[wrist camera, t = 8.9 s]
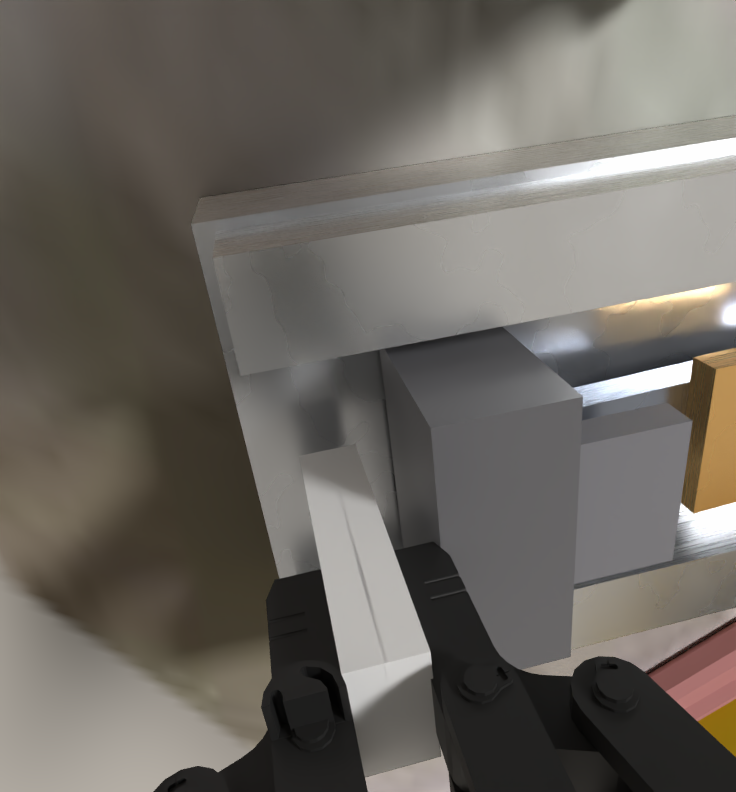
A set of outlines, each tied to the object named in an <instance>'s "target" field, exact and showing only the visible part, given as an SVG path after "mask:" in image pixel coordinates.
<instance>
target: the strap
mask: <svg viewBox="0 0 736 792" xmlns="http://www.w3.org/2000/svg"><path fill="white" fill-rule="evenodd" d="M574 389H575V390H576V391H577V392H578V393H579V394H581V395H582V396H583V409H582V420H587V419H591V418H596V417H601V416H606V415H610V414H615V413H620V412H624V411H629V410H634V409H639V408H643V407H648V406H653V405H658V404H662V403H668V404H670V405H671V406H672V407H674V408H675V409H677V410H678V411H680V412H681V413H682V414H684V415H685V416H687V417H688V418H689V419H691V420H692V421H693V422H692V429H691V436H690V443H689V450H688V456H687V463H686V470H685V477H684V484H683V491H682V498H681V503H682V504H683V505H684V506H685V507H686V508H687V509H689V510H690V511H691V512H692V513H693V514H694V513H698V512H701V511H705V510H709V509H712V508H716V507H720V506H723V505H727V504H731V503H735V502H736V348H731V349H727V350H723V351H718V352H714V353H709V354H705V355H701V356H696V357H693V361H688V362H684V363H680V364H675V365H671V366H667V367H662V368H658V369H653V370H649V371H645V372H640V373H636V374H632V375H627V376H623V377H618V378H614V379H610V380H605V381H601V382H597V383H592V384H588V385H583V386H579V387H575V388H574Z"/></svg>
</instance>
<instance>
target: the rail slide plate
mask: <svg viewBox="0 0 736 792" xmlns="http://www.w3.org/2000/svg"><path fill="white" fill-rule="evenodd" d="M191 227H192V231H193V235H194V239H195V243H196V247H197V251H198V255H199V259H200V263H201V267H202V271H203V275H204V279H205V283H206V287H207V291H208V295H209V299H210V303H211V307H212V311H213V315H214V319H215V323H216V327H217V331H218V335H219V339H220V343H221V347H222V351H223V355H224V359H225V363H226V367H227V371H228V375H229V379H230V383H231V387H232V391H233V395H234V399H235V403H236V407H237V411H238V415H239V419H240V423H241V427H242V431H243V435H244V439H245V443H246V447H247V451H248V455H249V459H250V463H251V467H252V471H253V475H254V479H255V483H256V487H257V491H258V495H259V499H260V503H261V507H262V511H263V515H264V519H265V523H266V527H267V531H268V535H269V539H270V543H271V547H272V551H273V555H274V559H275V563H276V567H277V571H278V575H279V579H280V578H285V577H289V576H293V575H297V574H302V573H306V572H310V571H315V570H319V569H321V567H320V561H319V556H318V551H317V546H316V541H315V536H314V530H313V525H312V520H311V515H310V510H309V505H308V499H307V494H306V489H305V484H304V479H303V474H302V468H301V463H300V458H299V456H301V455H306V454H311V453H315V452H320V451H325V450H330V449H335V448H340V447H344V446H349V445H354V444H355V445H356V448H357V450H358V453H359V456H360V459H361V461H362V464H363V467H364V470H365V472H366V475H367V478H368V481H369V483H370V486H371V489H372V492H373V494H374V497H375V500H376V503H377V506H378V508H379V511H380V514H381V517H382V519H383V522H384V525H385V528H386V530H387V533H388V536H389V539H390V541H391V544H392V547H393V550H398V549H403V540H402V532H401V524H400V515H399V507H398V499H397V490H396V482H395V474H394V466H393V457H392V449H391V441H390V432H389V424H388V416H387V408H386V399H385V391H384V383H383V374H382V366H381V358H380V349H385V348H390V347H396V346H401V345H406V344H412V343H417V342H422V341H427V340H433V339H438V338H443V337H449V336H454V335H459V334H464V333H470V332H475V331H480V330H486V329H491V328H496V327H501V326H502V327H503V328H504V329H506V330H507V331H508V332H509V333H510V334H511V335H513V336H514V337H515V338H516V339H517V340H518V341H519V342H521V343H522V344H523V345H524V346H525V347H526V348H528V349H529V350H530V351H531V352H532V353H533V354H534V355H536V356H537V357H538V358H539V359H540V360H541V361H543V362H544V363H545V364H546V365H547V366H548V367H549V368H551V369H552V370H553V371H554V372H555V373H556V374H557V375H559V376H560V377H561V378H562V379H563V380H564V381H566V382H567V383H568V384H569V385H570V386H571V387H572V388H575V387H579V386H583V385H588V384H592V383H597V382H601V381H605V380H610V379H614V378H618V377H623V376H627V375H632V374H636V373H640V372H645V371H649V370H653V369H658V368H662V367H667V366H671V365H675V364H680V363H684V362H688V361H693V357H696V356H701V355H705V354H709V353H714V352H718V351H723V350H727V349H731V348H736V115H734V116H728V117H721V118H715V119H708V120H702V121H695V122H689V123H682V124H676V125H669V126H663V127H656V128H650V129H643V130H637V131H630V132H624V133H617V134H611V135H604V136H598V137H591V138H585V139H578V140H572V141H565V142H559V143H552V144H546V145H539V146H533V147H526V148H520V149H513V150H507V151H500V152H494V153H487V154H481V155H474V156H468V157H461V158H455V159H448V160H442V161H435V162H429V163H422V164H416V165H409V166H403V167H396V168H390V169H383V170H377V171H370V172H364V173H357V174H351V175H344V176H338V177H331V178H325V179H318V180H312V181H305V182H299V183H292V184H286V185H279V186H273V187H266V188H260V189H253V190H247V191H240V192H234V193H227V194H221V195H214V196H208V197H201V198H200V199H199V202H198V205H197V208H196V211H195V214H194V217H193V220H192V222H191ZM735 607H736V502H735V503H731V504H727V505H723V506H720V507H716V508H712V509H709V510H705V511H701V512H698V513H694V514H693V513H692V512H691V511H690V510H689V509H687V508H686V507H685V506H684V505H683V504H682V503H681V505H680V512H679V519H678V525H677V532H676V539H675V546H674V553H673V560H671V561H667V562H663V563H659V564H655V565H651V566H647V567H642V568H638V569H634V570H630V571H626V572H622V573H618V574H614V575H610V576H606V577H602V578H597V579H593V580H589V581H585V582H581V583H577V584H574V596H573V616H572V637H571V650H572V649H576V648H580V647H584V646H588V645H592V644H595V643H599V642H603V641H607V640H611V639H615V638H619V637H623V636H627V635H630V634H634V633H638V632H642V631H646V630H650V629H654V628H658V627H661V626H665V625H669V624H673V623H677V622H681V621H685V620H689V619H692V618H696V617H700V616H704V615H708V614H712V613H716V612H720V611H723V610H727V609H731V608H735Z"/></svg>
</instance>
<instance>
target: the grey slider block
mask: <svg viewBox="0 0 736 792" xmlns="http://www.w3.org/2000/svg"><path fill="white" fill-rule="evenodd" d="M380 358H381V366H382V374H383V383H384V391H385V399H386V408H387V416H388V424H389V432H390V441H391V449H392V457H393V466H394V474H395V482H396V490H397V499H398V507H399V515H400V524H401V532H402V540H403V548H407V547H411V546H415V545H420V544H424V543H428V542H435V543H436V544H437V545H438V546H439V547H441V548H442V549H443V550H444V551H446V552H447V553H448V554H449V555H450V556H451V558H452V560H453V562H454V565H455V567H456V569H457V571H458V573H459V577H461V579H462V581H463V583H464V585H465V587H466V591H467V592H468V594H469V596H470V598H471V600H472V602H473V604H474V606H475V608H476V610H477V612H478V614H479V616H480V619H481V621H482V623H483V625H484V627H485V629H486V631H487V633H488V635H489V637H490V639H491V641H492V643H493V646H494V647H495V649H496V650H497V652H498V653H499V655H500V656H501V657H502V658H503V659H504V660H506V661H507V662H508V663H509V664H511V665H513V666H514V667H516V668H517V669H520V670H521V669H525V668H529V667H533V666H537V665H540V664H544V663H548V662H552V661H556V660H560V659H564V658H567V657H571V637H572V616H573V596H574V584H577V583H581V582H585V581H589V580H593V579H597V578H602V577H606V576H610V575H614V574H618V573H622V572H626V571H630V570H634V569H638V568H642V567H647V566H651V565H655V564H659V563H663V562H667V561H671V560H673V553H674V546H675V539H676V532H677V525H678V519H679V512H680V505H681V498H682V491H683V484H684V477H685V470H686V463H687V456H688V450H689V443H690V436H691V429H692V422H693V421H692V420H691V419H689V418H688V417H687V416H685V415H684V414H682V413H681V412H680V411H678V410H677V409H675V408H674V407H672V406H671V405H670V404H668V403H662V404H658V405H653V406H648V407H643V408H639V409H634V410H629V411H624V412H620V413H615V414H610V415H606V416H601V417H596V418H591V419H587V420H582V409H583V396H582V395H581V394H579V393H578V392H577V391H576V390H575V389H574V388H572V387H571V386H570V385H569V384H568V383H567V382H566V381H564V380H563V379H562V378H561V377H560V376H559V375H557V374H556V373H555V372H554V371H553V370H552V369H551V368H549V367H548V366H547V365H546V364H545V363H544V362H543V361H541V360H540V359H539V358H538V357H537V356H536V355H534V354H533V353H532V352H531V351H530V350H529V349H528V348H526V347H525V346H524V345H523V344H522V343H521V342H519V341H518V340H517V339H516V338H515V337H514V336H513V335H511V334H510V333H509V332H508V331H507V330H506V329H504V328H503V327H502V326H501V327H496V328H491V329H486V330H480V331H475V332H470V333H464V334H459V335H454V336H449V337H443V338H438V339H433V340H427V341H422V342H417V343H412V344H406V345H401V346H396V347H390V348H385V349H380Z"/></svg>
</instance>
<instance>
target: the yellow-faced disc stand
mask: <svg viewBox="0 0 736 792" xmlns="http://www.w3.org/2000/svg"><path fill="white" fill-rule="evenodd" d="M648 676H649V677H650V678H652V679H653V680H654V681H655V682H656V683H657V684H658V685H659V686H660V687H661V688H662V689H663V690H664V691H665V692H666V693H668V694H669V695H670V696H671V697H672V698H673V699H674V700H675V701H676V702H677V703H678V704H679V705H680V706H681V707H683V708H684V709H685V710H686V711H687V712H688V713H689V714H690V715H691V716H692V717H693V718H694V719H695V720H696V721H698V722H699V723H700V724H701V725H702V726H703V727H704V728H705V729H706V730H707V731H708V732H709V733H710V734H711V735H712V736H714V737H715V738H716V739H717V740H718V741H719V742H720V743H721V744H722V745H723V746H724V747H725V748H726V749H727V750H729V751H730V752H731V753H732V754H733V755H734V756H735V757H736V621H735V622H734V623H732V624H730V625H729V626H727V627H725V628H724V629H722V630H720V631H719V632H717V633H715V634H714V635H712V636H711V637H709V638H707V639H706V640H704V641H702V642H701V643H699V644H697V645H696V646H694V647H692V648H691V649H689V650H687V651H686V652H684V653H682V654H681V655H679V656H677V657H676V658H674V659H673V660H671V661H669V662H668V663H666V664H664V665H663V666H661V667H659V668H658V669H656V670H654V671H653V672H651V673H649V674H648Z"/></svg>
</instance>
